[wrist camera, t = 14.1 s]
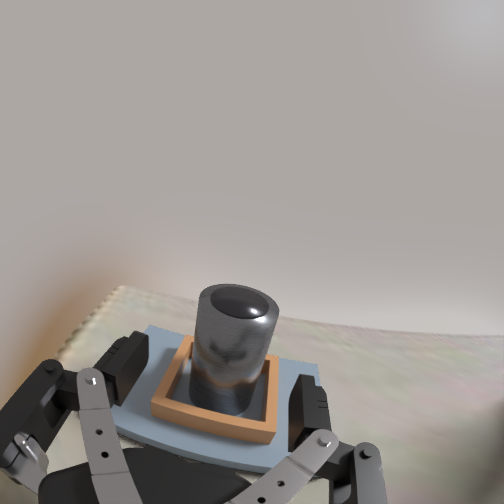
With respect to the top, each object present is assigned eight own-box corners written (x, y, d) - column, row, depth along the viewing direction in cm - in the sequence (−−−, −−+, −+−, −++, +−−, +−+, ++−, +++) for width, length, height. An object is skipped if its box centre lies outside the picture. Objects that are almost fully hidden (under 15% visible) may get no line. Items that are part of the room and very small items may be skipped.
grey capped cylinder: (232, 367, 24) (253, 280, 21) (262, 406, 20) (295, 316, 17) (179, 377, 21) (188, 283, 18) (204, 424, 17) (221, 329, 14)
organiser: (313, 372, 27) (323, 351, 26) (324, 477, 14) (341, 460, 13) (149, 333, 27) (149, 310, 26) (89, 419, 15) (81, 396, 14)
